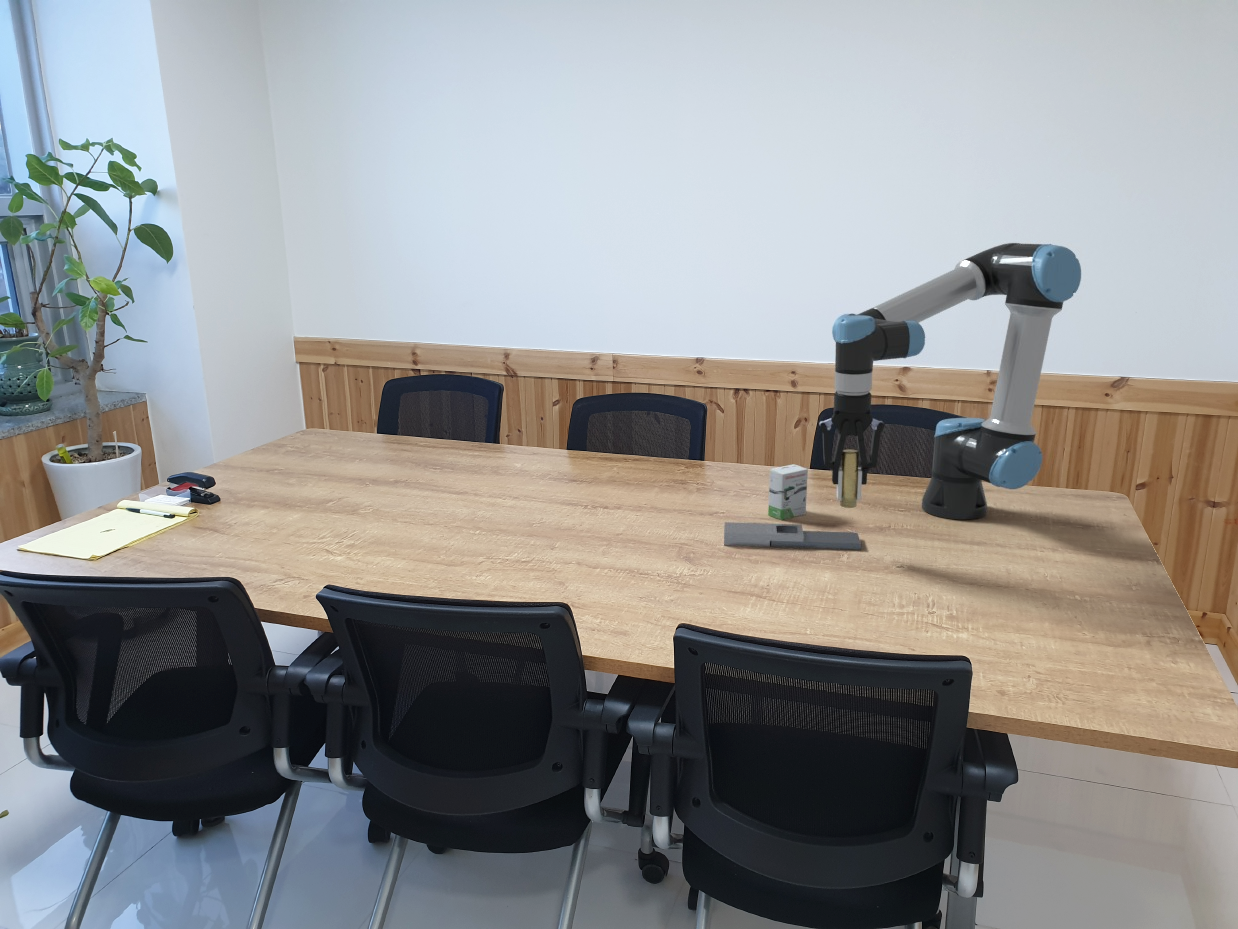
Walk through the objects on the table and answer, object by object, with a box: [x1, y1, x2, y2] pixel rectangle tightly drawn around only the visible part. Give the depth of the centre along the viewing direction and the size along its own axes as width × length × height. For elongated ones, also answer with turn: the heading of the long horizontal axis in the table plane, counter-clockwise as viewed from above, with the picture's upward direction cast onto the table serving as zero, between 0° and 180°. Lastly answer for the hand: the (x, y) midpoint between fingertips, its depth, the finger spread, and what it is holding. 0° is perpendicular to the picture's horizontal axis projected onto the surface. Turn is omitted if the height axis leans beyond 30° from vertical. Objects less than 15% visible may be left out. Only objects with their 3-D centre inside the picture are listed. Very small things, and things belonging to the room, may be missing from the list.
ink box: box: [767, 463, 809, 521], centre depth 222 cm, size 9×5×12 cm, turn 123°
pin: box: [839, 449, 860, 509], centre depth 194 cm, size 3×3×12 cm
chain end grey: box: [723, 521, 804, 548], centre depth 206 cm, size 18×7×3 cm, turn 82°
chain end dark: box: [770, 530, 862, 551], centre depth 205 cm, size 20×7×2 cm, turn 82°
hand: (848, 498), depth 195 cm, fingers closed on pin, 3 cm apart
